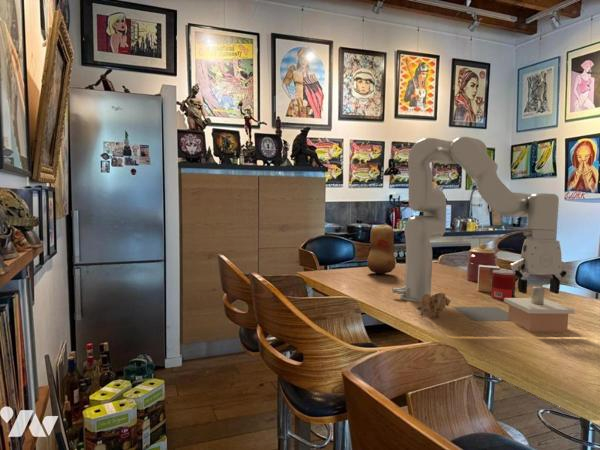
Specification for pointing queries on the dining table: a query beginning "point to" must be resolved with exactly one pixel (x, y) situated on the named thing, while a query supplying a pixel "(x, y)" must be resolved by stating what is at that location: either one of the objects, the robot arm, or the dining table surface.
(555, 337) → the dining table surface
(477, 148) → the robot arm
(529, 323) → the pink square box
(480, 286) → the small box
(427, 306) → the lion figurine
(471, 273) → the canister
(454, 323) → the dining table surface
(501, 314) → the mat
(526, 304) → the lid
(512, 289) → the canned food
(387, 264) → the butternut squash
